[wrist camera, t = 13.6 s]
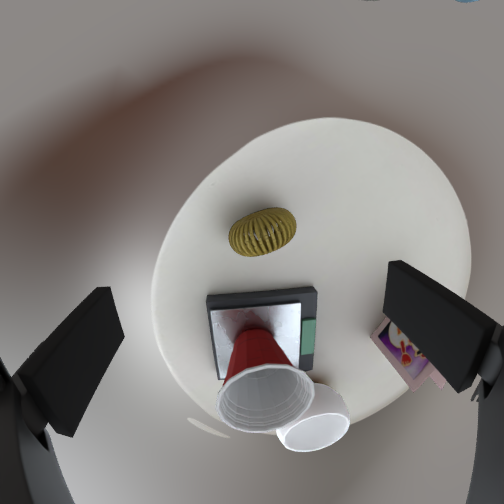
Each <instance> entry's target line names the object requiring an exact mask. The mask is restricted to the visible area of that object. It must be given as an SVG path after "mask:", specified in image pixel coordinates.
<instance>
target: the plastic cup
mask: <svg viewBox="0 0 504 504" xmlns="http://www.w3.org/2000/svg"><path fill="white" fill-rule="evenodd" d="M314 396H315V393H314V383H313V381H312V380H311V379H310V378H309V377H308V376H307V374H306V373H305V372H304V371H303V370H300V369H298V368H296V367H295V366H293V364H292V363H291V361H290V360H289V358H288V357H287V356H286V354H285V353H284V351H283V350H282V348H281V347H280V346H279V345H278V343H277V341H276V340H275V339H274V337H273V336H272V335H271V334H270V333H269V332H267V331H265V330H262V329H251V330H247V331H245V332H243V333H242V334H240V335H239V337H238V338H237V339H236V341H235V343H234V347H233V351H232V353H231V357H230V361H229V366H228V370H227V375H226V377H225V381H224V383H223V387H222V388H221V389H220V391H219V392H218V396H217V402H216V410H217V413H218V415H219V417H220V419H221V420H222V421H223V422H225V423H226V424H227V425H229V426H230V427H231V428H233V429H237V430H240V431H244V432H248V433H251V432H252V433H257V432H269V431H273V430H277V429H280V428H283V427H285V426H287V425H289V424H291V423H292V422H294V421H296V420H298V419H299V418H300V417H301V416H302V415H303V414H304V413H305V412H306V411H307V410H308V409H309V407H310V405H311V403H312V401H313V398H314Z"/></svg>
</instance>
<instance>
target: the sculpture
mask: <svg viewBox="0 0 504 504" xmlns="http://www.w3.org/2000/svg"><path fill="white" fill-rule="evenodd" d="M280 221H281V222H280ZM275 222H276V223H277V225H278V227H277V226H276V223H275ZM271 225H272V226H273V228H274V233H273V230H272V226H271ZM266 226H267V227H266ZM267 229H268V230H269V233H270V236H269V234H268V230H267ZM253 230H254V232H255V234H256V236H257V238H258V240H257V239H256V237H255V236H254V232H253ZM248 231H249V233H250V236H249V235H248ZM259 232H260V234H259ZM280 232H281V233H280ZM295 232H296V220H295V218H294V216H293V215H292V214H291V213H290V212H289V211H288V210H286V209H284V208H278V207H276V208H275V207H274V208H268V209H265V210H261V211H258V212H255V213H252V214H250V215H247V216H245V217H243V218H242V219H240V220H238V221H237V222H236V223H235V224H234V225H233V226H232V228H231V229H230V231H229V238H228V239H229V242H230V246H231V247H232V249H233V250H234V251H235V252H236V253H238V254H240V255H242V256H247V257H254V256H259V255H264V254H268V253H271V252H272V251H276V250H278V249H280V248H281V247H283V246H284V245H286V244H287V243H288V242H290V240H291V239H292V238H293V236H294V235H295ZM239 234H240V235H239ZM244 234H245V235H244ZM250 237H251V238H250ZM250 242H251V243H250Z"/></svg>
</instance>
